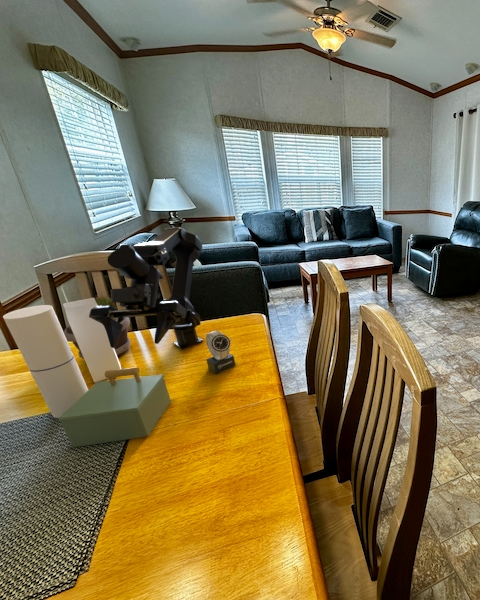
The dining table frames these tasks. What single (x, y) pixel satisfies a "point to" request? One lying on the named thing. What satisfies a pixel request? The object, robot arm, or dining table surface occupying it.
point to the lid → (114, 395)
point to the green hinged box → (119, 422)
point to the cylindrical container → (47, 356)
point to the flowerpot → (123, 339)
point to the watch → (219, 352)
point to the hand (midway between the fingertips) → (134, 345)
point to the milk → (91, 338)
